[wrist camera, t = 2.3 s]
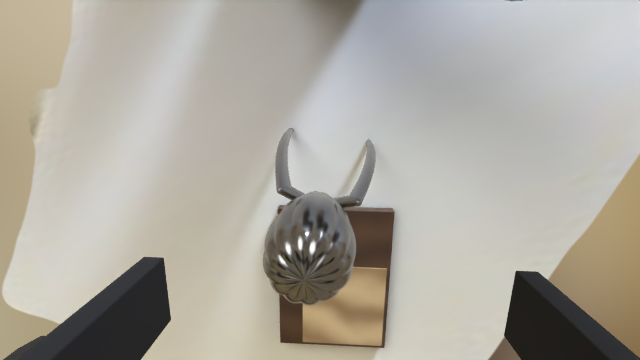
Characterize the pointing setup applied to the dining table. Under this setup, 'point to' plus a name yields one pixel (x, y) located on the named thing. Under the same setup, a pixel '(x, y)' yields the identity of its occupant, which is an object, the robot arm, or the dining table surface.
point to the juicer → (312, 236)
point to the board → (350, 291)
